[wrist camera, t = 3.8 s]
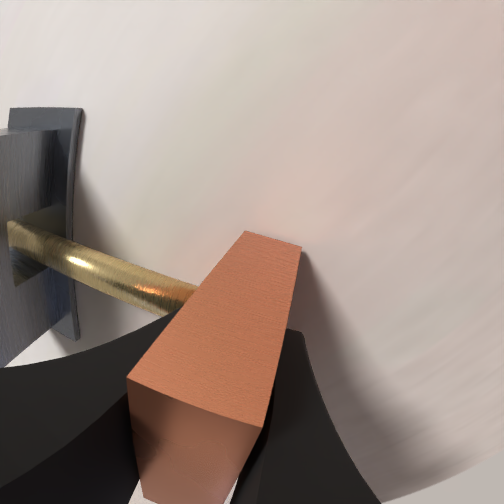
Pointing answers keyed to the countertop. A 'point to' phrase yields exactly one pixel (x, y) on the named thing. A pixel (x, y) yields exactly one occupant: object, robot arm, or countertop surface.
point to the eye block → (36, 224)
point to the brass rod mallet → (192, 356)
